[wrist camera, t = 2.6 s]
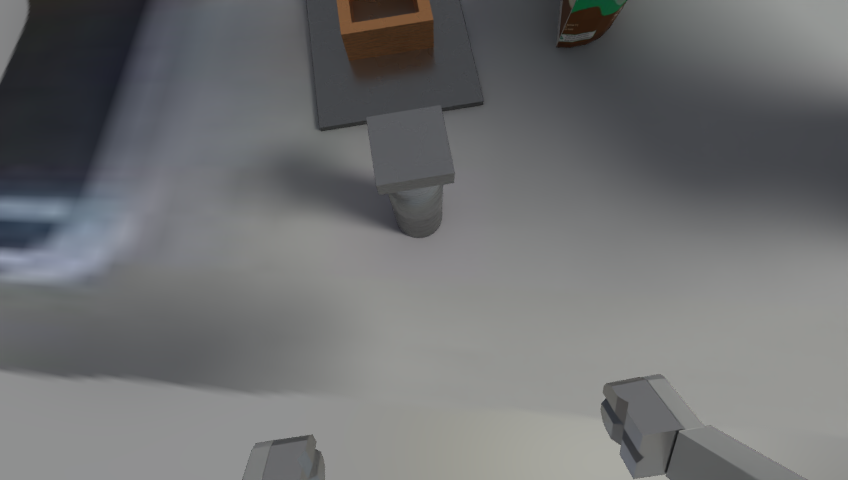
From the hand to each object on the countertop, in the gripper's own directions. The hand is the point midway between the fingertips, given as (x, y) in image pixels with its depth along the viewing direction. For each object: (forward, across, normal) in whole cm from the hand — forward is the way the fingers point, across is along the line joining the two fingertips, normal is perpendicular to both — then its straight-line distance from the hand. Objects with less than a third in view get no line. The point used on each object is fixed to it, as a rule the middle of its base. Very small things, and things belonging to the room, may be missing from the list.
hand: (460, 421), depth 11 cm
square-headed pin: (+21, 0, +4) cm, 21 cm away
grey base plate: (+34, 0, -10) cm, 36 cm away
